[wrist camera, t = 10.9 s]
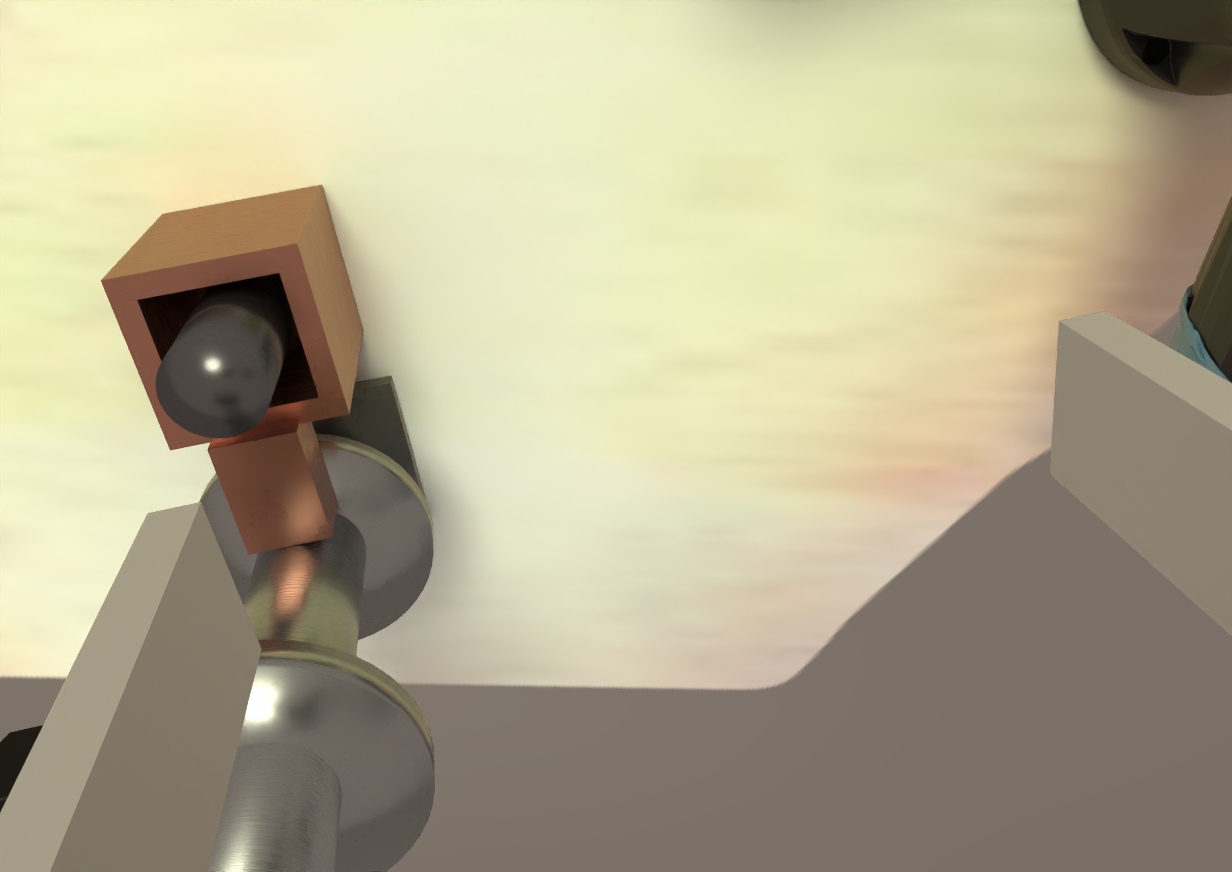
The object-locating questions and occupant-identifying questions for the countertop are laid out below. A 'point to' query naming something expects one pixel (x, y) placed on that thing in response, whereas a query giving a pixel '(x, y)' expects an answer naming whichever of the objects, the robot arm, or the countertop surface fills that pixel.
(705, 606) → the countertop surface
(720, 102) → the countertop surface
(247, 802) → the post with bracket
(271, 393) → the dark grey cylinder
